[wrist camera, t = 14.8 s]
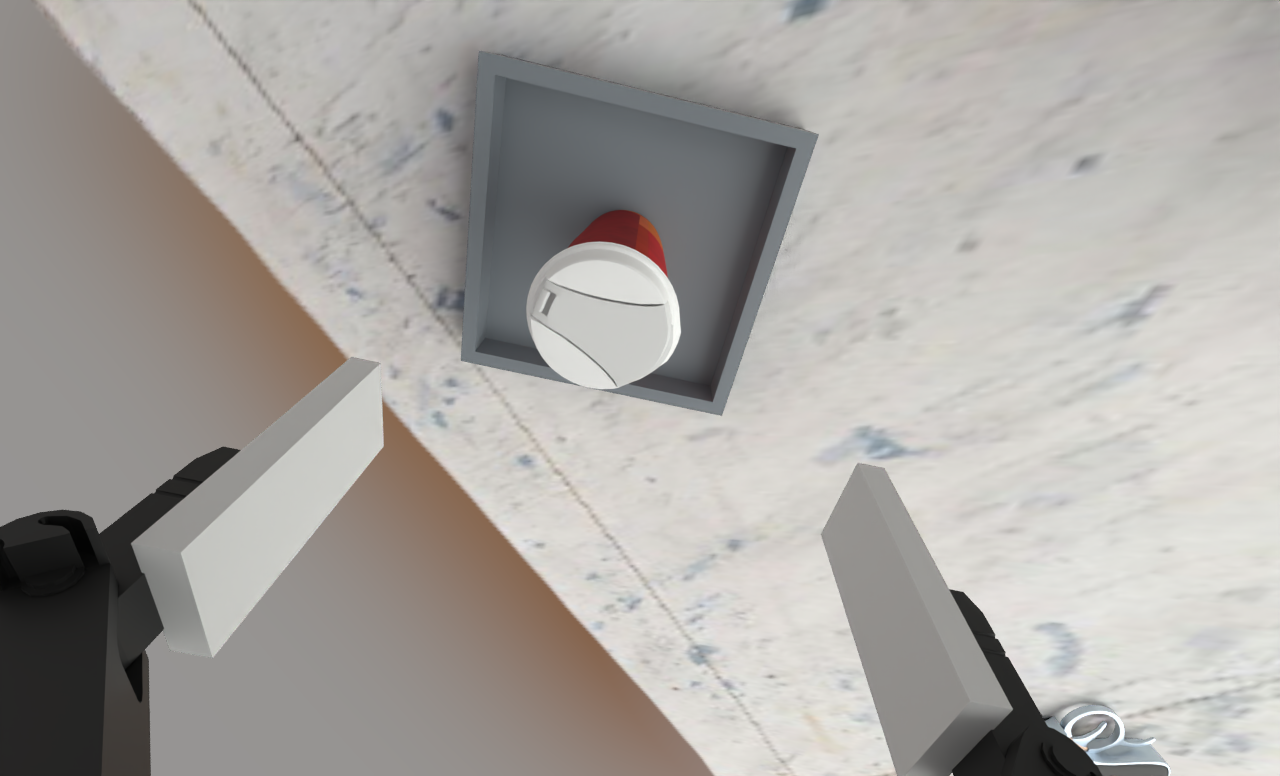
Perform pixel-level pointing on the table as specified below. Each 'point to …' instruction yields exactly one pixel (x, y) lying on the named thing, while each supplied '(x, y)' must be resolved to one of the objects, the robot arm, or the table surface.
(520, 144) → the tray
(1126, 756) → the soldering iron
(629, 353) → the paper cup
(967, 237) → the table surface
